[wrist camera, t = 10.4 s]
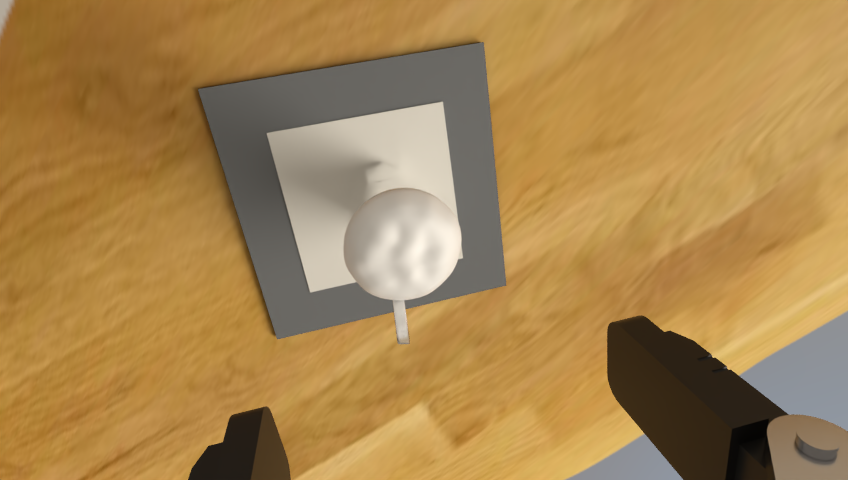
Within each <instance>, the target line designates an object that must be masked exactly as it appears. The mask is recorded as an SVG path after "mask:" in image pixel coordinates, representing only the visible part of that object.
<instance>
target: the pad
mask: <svg viewBox="0 0 848 480" xmlns="http://www.w3.org/2000/svg"><path fill="white" fill-rule="evenodd" d="M198 91H199V94H200V98H201V101H202V104H203V107H204V110H205V113H206V116H207V120H208V123H209V126H210V129H211V132H212V135H213V138H214V142H215V145H216V148H217V151H218V154H219V157H220V161H221V164H222V167H223V170H224V173H225V176H226V179H227V183H228V186H229V189H230V192H231V195H232V198H233V202H234V205H235V208H236V211H237V214H238V217H239V220H240V224H241V227H242V230H243V233H244V236H245V239H246V243H247V246H248V249H249V252H250V255H251V258H252V261H253V265H254V268H255V271H256V274H257V277H258V280H259V284H260V287H261V290H262V293H263V296H264V299H265V302H266V306H267V309H268V312H269V315H270V318H271V321H272V324H273V328H274V331H275V334H276V337H277V339H281V338H285V337H289V336H293V335H298V334H302V333H306V332H310V331H315V330H319V329H323V328H327V327H332V326H336V325H340V324H344V323H349V322H353V321H357V320H361V319H366V318H370V317H374V316H378V315H383V314H387V313H391V312H394V308H393V300H389V299H383V298H379V297H376V296H374V295H372V294H370V293H368V292H366V291H365V290H364V289H363V288H362V287H361V286H360V285H359V284H358V283H357V282H356V280H355V279H354V278H353V276H352V275H351V274H350V272H349V270H348V268H347V266H346V264H345V260H344V251H343V247H344V237H345V231H346V225H347V219H348V214H349V209H350V194H351V182H352V180H353V179H354V178H355V177H356V176H357V175H358V174H359V172H360V171H361V170H362V169H363V168H364V167H367V166H371V165H375V164H379V163H385V164H387V165H390V166H392V167H394V168H397V169H399V170H401V171H403V172H404V173H405V174H406V175H408V176H409V177H410V178H411V179H412V180H414V181H415V182H416V183H417V184H419V185H420V186H421V187H422V188H424V189H425V190H427V191H428V192H430V193H431V194H433V195H434V196H436V197H437V198H438V199H440V200H441V201H442V202H443V203H445V204H446V205H447V206H448V207H449V208H450V210H451V211H452V212H453V213H454V215H455V216H456V218H457V220H458V223H459V226H460V230H461V237H462V241H461V249H460V253H459V257H458V261H457V264H456V266H455V268H454V270H453V271H452V273H451V274H450V276H449V277H448V278H447V279H446V280H445V281H444V282H443V283H442V284H441V285H440V286H439V287H438V288H436V289H435V290H434V291H432V292H431V293H429V294H427V295H425V296H422V297H419V298H415V299H410V300H404V302H405V309H408V308H412V307H417V306H421V305H425V304H429V303H434V302H438V301H442V300H446V299H450V298H455V297H459V296H463V295H467V294H472V293H476V292H480V291H484V290H489V289H493V288H497V287H501V286H506V278H505V267H504V256H503V245H502V234H501V224H500V213H499V202H498V191H497V181H496V170H495V159H494V148H493V137H492V127H491V116H490V105H489V94H488V84H487V73H486V62H485V51H484V42H482V43H475V44H469V45H463V46H457V47H451V48H445V49H439V50H433V51H427V52H421V53H414V54H408V55H402V56H396V57H390V58H384V59H378V60H372V61H366V62H360V63H354V64H347V65H341V66H335V67H329V68H323V69H317V70H311V71H305V72H299V73H293V74H286V75H280V76H274V77H268V78H262V79H256V80H250V81H244V82H238V83H232V84H225V85H219V86H213V87H207V88H201V89H198Z"/></svg>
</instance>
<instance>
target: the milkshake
mask: <svg viewBox="0 0 848 480" xmlns="http://www.w3.org/2000/svg"><path fill="white" fill-rule="evenodd" d="M461 241H462V237H461V230H460V226H459V223H458V220H457V218H456V216H455V215H454V213H453V212H452V211H451V210H450V208H449V207H448V206H447V205H446V204H445V203H443V202H442V201H441V200H440V199H438V198H437V197H436V196H434V195H433V194H431V193H430V192H428V191H427V190H425V189H424V188H422V187H421V186H420V185H419V184H417V183H416V182H415V181H414V180H412V179H411V178H410V177H409V176H408V175H406V174H405V173H404V172H403V171H401V170H399V169H397V168H394V167H392V166H390V165H387V164H385V163H379V164H375V165H371V166H367V167H364V168H363V169H362V170H361V171H360V172H359V174H358V175H357V176H356V177H355V178H354V179H353V180H352V182H351V194H350V209H349V214H348V219H347V225H346V231H345V237H344V247H343V251H344V260H345V264H346V266H347V268H348V270H349V272H350V274H351V275H352V276H353V278H354V279H355V280H356V282H357V283H358V284H359V285H360V286H361V287H362V288H363V289H364V290H365V291H366V292H368V293H370V294H372V295H374V296H376V297H379V298H383V299H389V300H393V308H394V317H395V325H396V334H397V342H398V344H410V338H409V331H408V324H407V316H406V309H405V302H404V300H410V299H415V298H419V297H422V296H425V295H427V294H429V293H431V292H432V291H434V290H435V289H436V288H438V287H439V286H440V285H441V284H442V283H443V282H444V281H445V280H446V279H447V278H448V277H449V276H450V274H451V273H452V271H453V270H454V268H455V266H456V264H457V261H458V257H459V253H460V249H461Z"/></svg>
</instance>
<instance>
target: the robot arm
mask: <svg viewBox="0 0 848 480" xmlns="http://www.w3.org/2000/svg"><path fill="white" fill-rule="evenodd" d="M607 374H608V381H609V385H610V388H611V390H612V393H613V395H614V396H615V398H616V400H617V401H618V402H619V404H620V405H621V406H622V407H623V408H624V410H625V411H626V412H627V413H628V414H629V415H630V417H631V418H632V419H633V420H634V421H635V423H636V424H637V425H638V426H639V427H640V429H641V430H642V431H643V432H644V433H645V435H646V436H647V437H648V438H649V439H650V440H651V442H652V443H653V444H654V445H655V446H656V448H657V449H658V450H659V451H660V452H661V454H662V455H663V456H664V457H665V458H666V459H667V461H668V462H669V463H670V464H671V465H672V467H673V468H674V469H675V470H676V471H677V473H678V474H679V475H680V476H681V477H682V478H683V480H848V431H846V430H844V429H843V428H841V427H839V426H837V425H835V424H833V423H830V422H828V421H825V420H822V419H819V418H816V417H811V416H806V415H788V414H787V413H786V412H784V411H783V410H782V409H781V408H779V407H778V406H777V405H776V404H774V403H773V402H771V401H770V400H769V399H768V398H766V397H765V396H764V395H763V394H761V393H760V392H759V391H758V390H756V389H755V388H754V387H752V386H751V385H750V384H749V383H747V382H746V381H745V380H743V379H742V378H741V377H740V376H738V375H737V374H736V373H734V372H733V371H732V370H728V369H727V366H725V365H724V364H723V363H722V362H720V361H719V360H718V359H716V358H713V357H712V355H711V354H710V353H709V352H707V351H706V350H705V349H704V348H702V347H701V346H700V345H698V344H697V343H696V342H694V341H693V340H691V339H688V338H686V337H684V336H681V335H679V334H677V333H674V332H672V331H667V332H663V331H662V330H661V329H660V328H659V327H657V326H656V325H655V324H654V323H653V322H651V321H650V320H649V319H648V318H646V317H644V316H636V317H632V318H628V319H624V320H620V321H616V322H612V323H610V324H609V326H608V332H607ZM188 480H291V479H290V469H289V464H288V459H287V456H286V453H285V450H284V447H283V444H282V442H281V439H280V436H279V433H278V430H277V427H276V425H275V422H274V419H273V416H272V413H271V411H270V409H269V408H268V407H262V408H258V409H254V410H250V411H246V412H242V413H238V414H234V415H232V416H231V417H230V419H229V422H228V426H227V429H226V433H225V437H224V441H223V442H222V443H218V444H214V445H211V446H208V447H207V449H206V450H205V451H204V453H203V454H202V455H201V457H200V458H199V460H198V461H197V462H196V464H195V465H194V466H193V468H192V470H191V473H190V476H189V479H188Z"/></svg>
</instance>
